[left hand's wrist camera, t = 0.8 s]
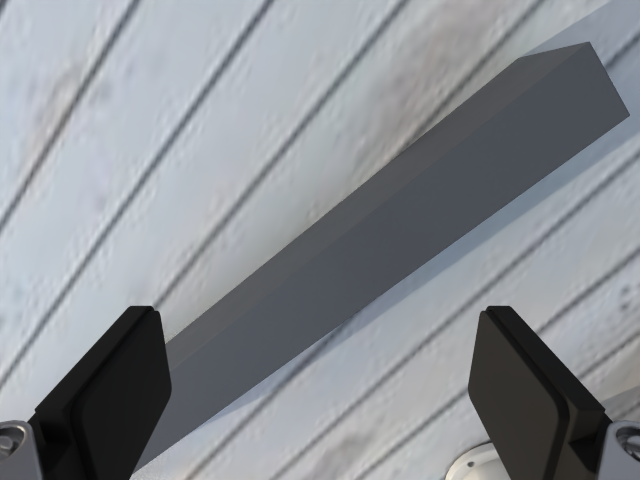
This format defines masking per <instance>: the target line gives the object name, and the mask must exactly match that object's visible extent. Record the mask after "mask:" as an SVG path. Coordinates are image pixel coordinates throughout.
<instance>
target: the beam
mask: <svg viewBox="0 0 640 480" xmlns="http://www.w3.org/2000/svg"><path fill="white" fill-rule="evenodd" d="M629 116H630V114H629V112H628V110H627V109H626V107H625V105H624V103H623V101H622V100H621V98H620V96H619V94H618V92H617V91H616V89H615V87H614V85H613V83H612V81H611V80H610V78H609V76H608V74H607V72H606V71H605V69H604V67H603V65H602V63H601V62H600V60H599V58H598V56H597V54H596V52H595V51H594V49H593V47H592V45H591V43H590V42H585V43H581V44H577V45H573V46H568V47H564V48H560V49H555V50H551V51H547V52H542V53H538V54H534V55H530V56H525V57H521V58H518V59H517V60H516V61H514V62H513V63H512V64H511V65H509V66H508V67H507V68H506V69H505V70H503V71H502V72H501V73H500V74H498V75H497V76H496V77H495V78H493V79H492V80H491V81H490V82H488V83H487V84H486V85H485V86H484V87H482V88H481V89H480V90H479V91H477V92H476V93H475V94H474V95H472V96H471V97H470V98H469V99H468V100H466V101H465V102H464V103H463V104H461V105H460V106H459V107H458V108H456V109H455V110H454V111H453V112H451V113H450V114H449V115H448V116H447V117H445V118H444V119H443V120H442V121H440V122H439V123H438V124H437V125H435V126H434V127H433V128H432V129H431V130H429V131H428V132H427V133H426V134H424V135H423V136H422V137H421V138H419V139H418V140H417V141H416V142H414V143H413V144H412V145H411V146H410V147H408V148H407V149H406V150H405V151H403V152H402V153H401V154H400V155H398V156H397V157H396V158H395V159H393V160H392V161H391V162H390V163H389V164H387V165H386V166H385V167H384V168H382V169H381V170H380V171H379V172H377V173H376V174H375V175H374V176H373V177H371V178H370V179H369V180H368V181H366V182H365V183H364V184H363V185H361V186H360V187H359V188H358V189H356V190H355V191H354V192H353V193H352V194H350V195H349V196H348V197H347V198H345V199H344V200H343V201H342V202H340V203H339V204H338V205H337V206H336V207H334V208H333V209H332V210H331V211H329V212H328V213H327V214H326V215H324V216H323V217H322V218H321V219H319V220H318V221H317V222H316V223H315V224H313V225H312V226H311V227H310V228H308V229H307V230H306V231H305V232H303V233H302V234H301V235H300V236H299V237H297V238H296V239H295V240H294V241H292V242H291V243H290V244H289V245H287V246H286V247H285V248H284V249H282V250H281V251H280V252H279V253H278V254H276V255H275V256H274V257H273V258H271V259H270V260H269V261H268V262H266V263H265V264H264V265H263V266H261V267H260V268H259V269H258V270H257V271H255V272H254V273H253V274H252V275H250V276H249V277H248V278H247V279H245V280H244V281H243V282H242V283H241V284H239V285H238V286H237V287H236V288H234V289H233V290H232V291H231V292H229V293H228V294H227V295H226V296H224V297H223V298H222V299H221V300H220V301H218V302H217V303H216V304H215V305H213V306H212V307H211V308H210V309H208V310H207V311H206V312H205V313H204V314H202V315H201V316H200V317H199V318H197V319H196V320H195V321H194V322H192V323H191V324H190V325H189V326H187V327H186V328H185V329H184V330H183V331H181V332H180V333H179V334H178V335H176V336H175V337H174V338H173V339H171V340H170V341H169V342H168V343H167V344H165V347H166V353H167V359H168V365H169V371H170V377H171V384H172V392H171V397H170V399H169V401H168V403H167V405H166V407H165V409H164V411H163V413H162V415H161V417H160V419H159V421H158V423H157V425H156V427H155V429H154V431H153V433H152V435H151V437H150V439H149V441H148V443H147V445H146V447H145V449H144V451H143V453H142V455H141V457H140V459H139V461H138V463H137V465H136V467H135V469H134V471H133V473H135V472H136V471H138V470H139V469H140V468H142V467H143V466H144V465H146V464H147V463H149V462H150V461H151V460H153V459H154V458H156V457H157V456H158V455H160V454H161V453H162V452H164V451H165V450H167V449H168V448H169V447H171V446H172V445H174V444H175V443H176V442H178V441H179V440H181V439H182V438H183V437H185V436H186V435H187V434H189V433H190V432H192V431H193V430H194V429H196V428H197V427H199V426H200V425H201V424H203V423H204V422H206V421H207V420H208V419H210V418H211V417H212V416H214V415H215V414H217V413H218V412H219V411H221V410H222V409H224V408H225V407H226V406H228V405H229V404H230V403H232V402H233V401H235V400H236V399H237V398H239V397H240V396H242V395H243V394H244V393H246V392H247V391H249V390H250V389H251V388H253V387H254V386H255V385H257V384H258V383H260V382H261V381H262V380H264V379H265V378H267V377H268V376H269V375H271V374H272V373H273V372H275V371H276V370H278V369H279V368H280V367H282V366H283V365H285V364H286V363H287V362H289V361H290V360H292V359H293V358H294V357H296V356H297V355H298V354H300V353H301V352H303V351H304V350H305V349H307V348H308V347H310V346H311V345H312V344H314V343H315V342H316V341H318V340H319V339H321V338H322V337H323V336H325V335H326V334H328V333H329V332H330V331H332V330H333V329H335V328H336V327H337V326H339V325H340V324H341V323H343V322H344V321H346V320H347V319H348V318H350V317H351V316H353V315H354V314H355V313H357V312H358V311H359V310H361V309H362V308H364V307H365V306H366V305H368V304H369V303H371V302H372V301H373V300H375V299H376V298H378V297H379V296H380V295H382V294H383V293H384V292H386V291H387V290H389V289H390V288H391V287H393V286H394V285H396V284H397V283H398V282H400V281H401V280H402V279H404V278H405V277H407V276H408V275H409V274H411V273H412V272H414V271H415V270H416V269H418V268H419V267H421V266H422V265H423V264H425V263H426V262H427V261H429V260H430V259H432V258H433V257H434V256H436V255H437V254H439V253H440V252H441V251H443V250H444V249H445V248H447V247H448V246H450V245H451V244H452V243H454V242H455V241H457V240H458V239H459V238H461V237H462V236H464V235H465V234H466V233H468V232H469V231H470V230H472V229H473V228H475V227H476V226H477V225H479V224H480V223H482V222H483V221H484V220H486V219H487V218H488V217H490V216H491V215H493V214H494V213H495V212H497V211H498V210H500V209H501V208H502V207H504V206H505V205H507V204H508V203H509V202H511V201H512V200H513V199H515V198H516V197H518V196H519V195H520V194H522V193H523V192H525V191H526V190H527V189H529V188H530V187H531V186H533V185H534V184H536V183H537V182H538V181H540V180H541V179H543V178H544V177H545V176H547V175H548V174H550V173H551V172H552V171H554V170H555V169H556V168H558V167H559V166H561V165H562V164H563V163H565V162H566V161H568V160H569V159H570V158H572V157H573V156H574V155H576V154H577V153H579V152H580V151H581V150H583V149H584V148H586V147H587V146H588V145H590V144H591V143H593V142H594V141H595V140H597V139H598V138H599V137H601V136H602V135H604V134H605V133H606V132H608V131H609V130H611V129H612V128H613V127H615V126H616V125H617V124H619V123H620V122H622V121H623V120H624V119H626V118H627V117H629ZM133 473H132V474H133Z"/></svg>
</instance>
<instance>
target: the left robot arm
mask: <svg viewBox="0 0 640 480" xmlns="http://www.w3.org/2000/svg"><path fill="white" fill-rule="evenodd" d="M171 392H172V384H171V377H170V371H169V365H168V359H167V353H166V347H165V341H164V335H163V329H162V322H161V316H160V313H159V311H154V309H153V307H152V306H130V307H128V308H127V310H126V311H125V312H124V313H123V314H122V315H121V316H120V317H119V318H118V319H117V320H116V321H115V323H114V324H113V325H112V326H111V327H110V328H109V329H108V330H107V331H106V332H105V333H104V335H103V336H102V337H101V338H100V339H99V340H98V341H97V342H96V343H95V344H94V345H93V346H92V348H91V349H90V350H89V351H88V352H87V353H86V354H85V355H84V356H83V357H82V358H81V359H80V361H79V362H78V363H77V364H76V365H75V366H74V367H73V368H72V369H71V370H70V371H69V373H68V374H67V375H66V376H65V377H64V378H63V379H62V380H61V381H60V382H59V383H58V384H57V386H56V387H55V388H54V389H53V390H52V391H51V392H50V393H49V394H48V395H47V396H46V398H45V399H44V400H43V401H42V402H41V403H40V404H39V405H38V406H37V407H36V408H35V412H36V413H35V414H34V415H33V416H32V417H31V418H30V419H29V421H28V422H24V421H17V420H12V421H6V422H1V423H0V480H129V479H130V477H131V475H132V473H133V471H134V469H135V467H136V465H137V463H138V461H139V459H140V457H141V455H142V453H143V451H144V449H145V447H146V445H147V443H148V441H149V439H150V437H151V435H152V433H153V431H154V429H155V427H156V425H157V423H158V421H159V419H160V417H161V415H162V413H163V411H164V409H165V407H166V405H167V403H168V401H169V399H170V397H171ZM468 392H469V397H470V399H471V401H472V403H473V405H474V407H475V409H476V411H477V413H478V415H479V417H480V419H481V421H482V423H483V425H484V427H485V429H486V431H487V433H488V435H489V437H490V439H491V441H492V443H488V444H484V445H481V446H478V447H476V448H474V449H472V450H470V451H468V452H467V453H465V454H463V455H462V456H461V457H460V458H459V459H458V460H456V461H455V463H454V464H453V465H452V466H451V468H450V469H449V471H448V473H447V475H446V480H640V423H639V422H634V421H628V420H623V421H616V422H612V421H611V419H610V418H609V417H608V416H607V415H606V414H605V413H604V412H605V408H604V407H603V406H602V405H601V404H600V403H599V402H598V401H597V400H596V399H595V398H594V396H593V395H592V394H591V393H590V392H589V391H588V390H587V389H586V388H585V387H584V386H583V384H582V383H581V382H580V381H579V380H578V379H577V378H576V377H575V376H574V375H573V374H572V373H571V371H570V370H569V369H568V368H567V367H566V366H565V365H564V364H563V363H562V362H561V361H560V359H559V358H558V357H557V356H556V355H555V354H554V353H553V352H552V351H551V350H550V349H549V348H548V346H547V345H546V344H545V343H544V342H543V341H542V340H541V339H540V338H539V337H538V336H537V335H536V333H535V332H534V331H533V330H532V329H531V328H530V327H529V326H528V325H527V324H526V323H525V321H524V320H523V319H522V318H521V317H520V316H519V315H518V314H517V313H516V312H515V311H514V310H513V308H512V307H510V306H488V307H487V309H486V311H481V313H480V316H479V322H478V329H477V335H476V341H475V347H474V353H473V359H472V365H471V371H470V377H469V384H468Z"/></svg>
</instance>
